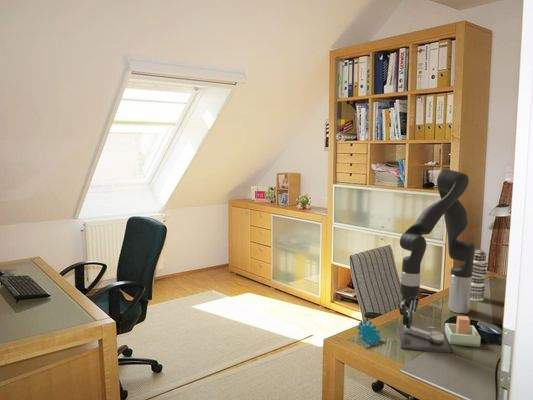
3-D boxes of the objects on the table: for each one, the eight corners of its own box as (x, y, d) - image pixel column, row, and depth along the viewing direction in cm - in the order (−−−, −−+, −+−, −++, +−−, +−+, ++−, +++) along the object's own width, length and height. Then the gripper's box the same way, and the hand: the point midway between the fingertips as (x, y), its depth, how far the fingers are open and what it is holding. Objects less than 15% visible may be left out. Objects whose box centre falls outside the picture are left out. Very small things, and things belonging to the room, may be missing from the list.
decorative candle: (481, 302, 220) (485, 253, 217) (462, 298, 226) (465, 250, 223) (486, 298, 227) (490, 250, 224) (468, 293, 233) (471, 247, 230)
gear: (363, 344, 168) (355, 319, 174) (355, 350, 172) (348, 326, 178) (386, 343, 172) (378, 319, 178) (378, 349, 176) (370, 325, 182)
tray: (444, 332, 184) (445, 323, 183) (472, 334, 182) (473, 325, 181) (449, 343, 173) (450, 334, 173) (479, 346, 171) (480, 336, 170)
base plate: (396, 327, 188) (396, 323, 188) (440, 331, 185) (440, 327, 184) (400, 348, 169) (400, 344, 169) (450, 353, 165) (450, 349, 165)
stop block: (455, 334, 180) (457, 315, 179) (466, 335, 179) (467, 316, 178) (457, 338, 176) (459, 319, 175) (468, 339, 175) (470, 320, 174)
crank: (445, 340, 172) (447, 319, 171) (440, 345, 168) (442, 323, 167) (407, 329, 182) (408, 308, 181) (402, 332, 179) (403, 312, 177)
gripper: (410, 288, 170) (407, 331, 172) (427, 281, 180) (424, 322, 182) (392, 283, 175) (390, 325, 177) (410, 277, 185) (407, 316, 187)
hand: (407, 323), depth 179 cm, fingers closed on crank, 2 cm apart
